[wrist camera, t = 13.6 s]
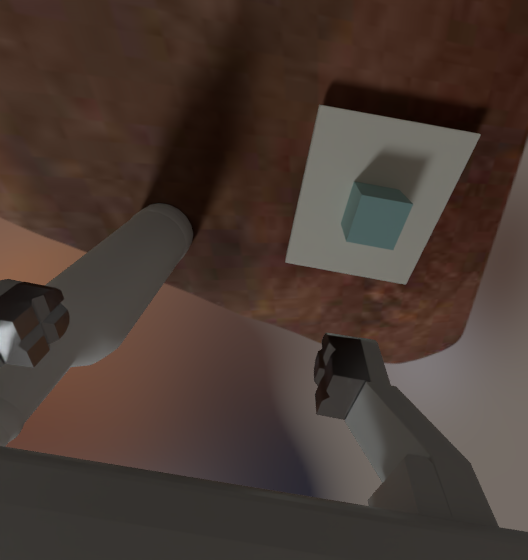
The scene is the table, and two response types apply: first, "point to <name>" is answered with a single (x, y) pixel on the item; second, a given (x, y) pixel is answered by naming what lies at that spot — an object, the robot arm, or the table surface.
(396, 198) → the teal block
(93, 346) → the bottle
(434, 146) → the cream wooden base
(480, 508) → the robot arm
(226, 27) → the table surface
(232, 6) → the table surface
